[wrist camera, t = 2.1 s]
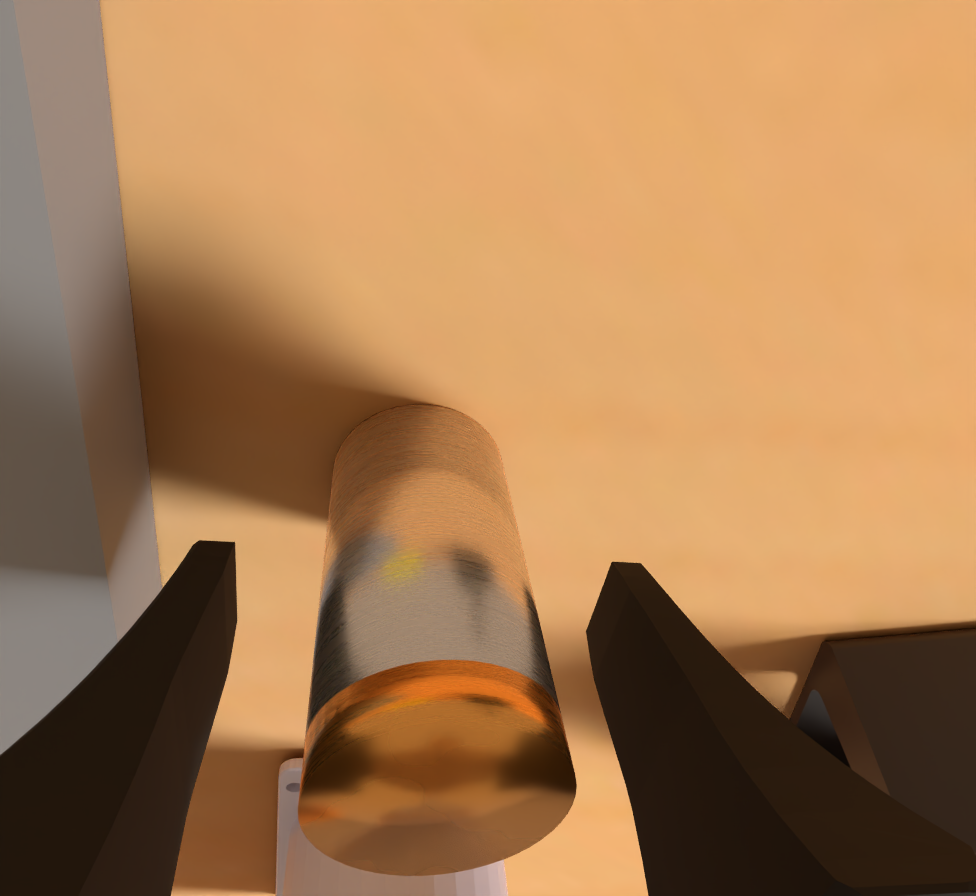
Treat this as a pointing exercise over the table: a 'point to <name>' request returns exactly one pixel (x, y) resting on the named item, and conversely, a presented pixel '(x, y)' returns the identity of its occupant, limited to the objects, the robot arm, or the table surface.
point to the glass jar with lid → (428, 660)
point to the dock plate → (64, 370)
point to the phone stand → (901, 719)
